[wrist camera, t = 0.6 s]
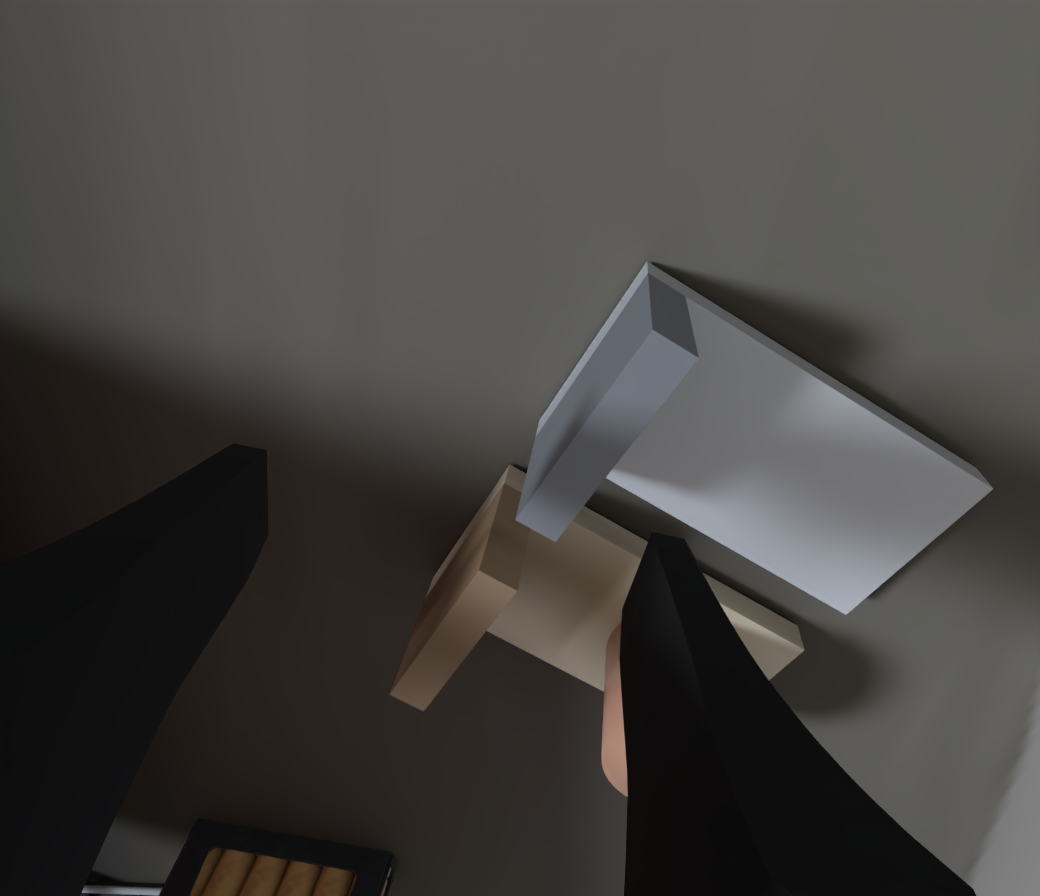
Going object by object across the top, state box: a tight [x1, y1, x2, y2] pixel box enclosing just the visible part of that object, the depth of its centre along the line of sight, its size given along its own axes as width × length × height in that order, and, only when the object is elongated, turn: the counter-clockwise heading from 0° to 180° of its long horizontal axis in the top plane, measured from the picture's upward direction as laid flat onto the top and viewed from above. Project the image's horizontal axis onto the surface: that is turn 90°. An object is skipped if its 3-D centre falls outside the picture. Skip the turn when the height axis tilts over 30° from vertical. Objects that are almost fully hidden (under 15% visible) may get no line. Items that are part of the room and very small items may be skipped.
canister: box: [601, 623, 628, 797], centre depth 23 cm, size 4×4×4 cm
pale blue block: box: [515, 262, 993, 615], centre depth 20 cm, size 6×12×6 cm, turn 60°
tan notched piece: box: [389, 464, 804, 712], centre depth 24 cm, size 6×12×6 cm, turn 60°
